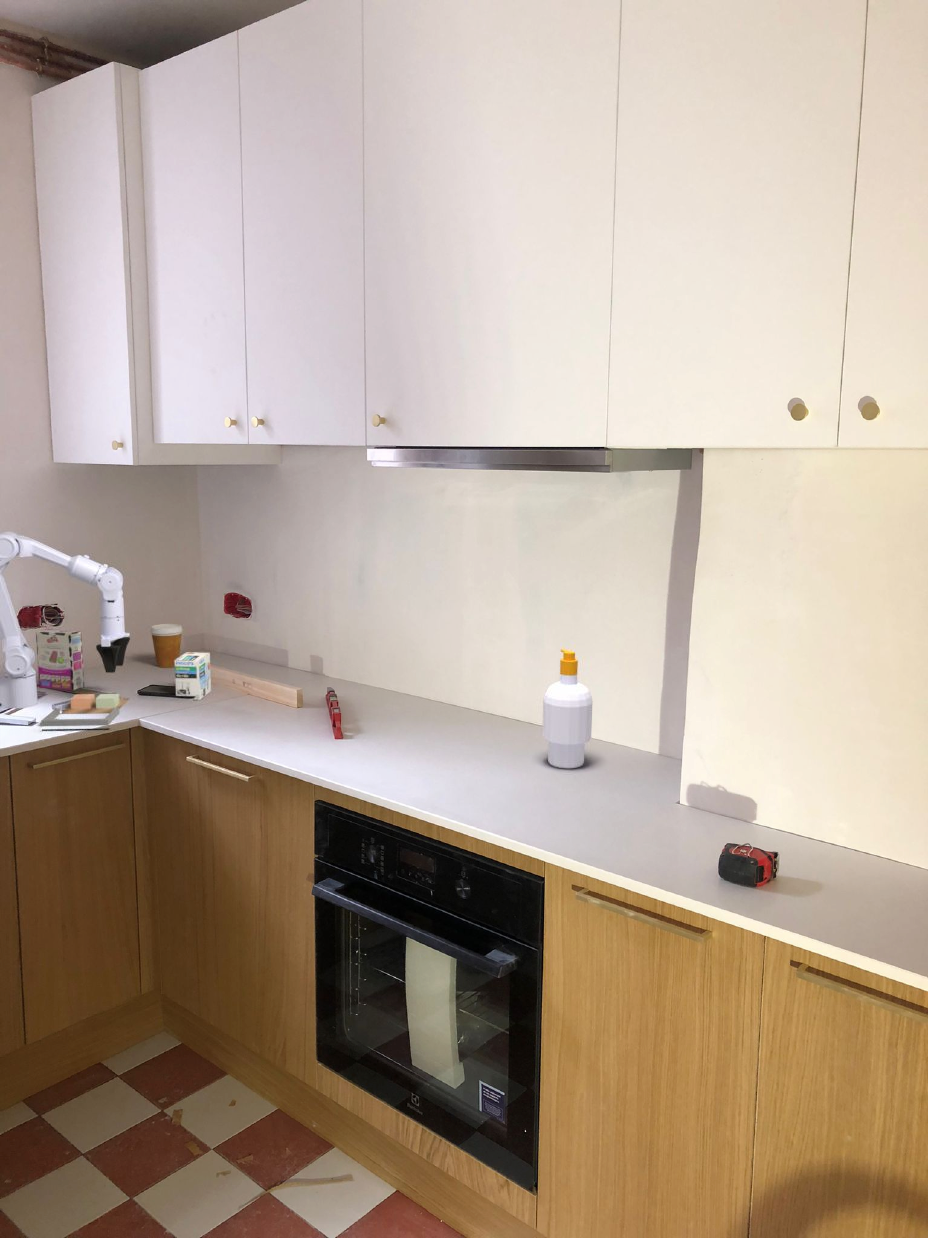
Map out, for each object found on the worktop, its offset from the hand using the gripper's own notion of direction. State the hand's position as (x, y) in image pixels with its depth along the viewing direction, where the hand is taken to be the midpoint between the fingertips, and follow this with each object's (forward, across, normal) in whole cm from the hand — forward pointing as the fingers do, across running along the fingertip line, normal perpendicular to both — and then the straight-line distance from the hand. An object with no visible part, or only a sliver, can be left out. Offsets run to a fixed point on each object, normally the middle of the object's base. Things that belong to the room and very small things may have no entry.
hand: (114, 668), depth 250 cm
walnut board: (+9, -7, +3) cm, 12 cm away
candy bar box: (+9, +14, +18) cm, 25 cm away
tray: (+9, -19, +3) cm, 21 cm away
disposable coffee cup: (+9, +45, -4) cm, 46 cm away
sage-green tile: (+8, -7, 0) cm, 10 cm away
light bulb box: (+9, +8, -18) cm, 22 cm away
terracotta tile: (+8, -7, +6) cm, 12 cm away
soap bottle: (+9, -54, -107) cm, 120 cm away
